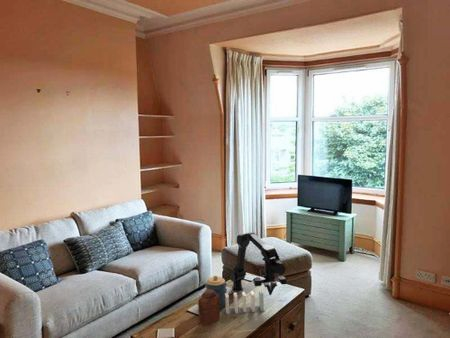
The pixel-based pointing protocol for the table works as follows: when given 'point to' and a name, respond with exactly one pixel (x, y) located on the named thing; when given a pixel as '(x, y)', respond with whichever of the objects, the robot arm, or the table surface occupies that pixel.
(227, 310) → the domino
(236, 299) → the domino
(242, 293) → the domino
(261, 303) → the domino
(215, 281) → the canister
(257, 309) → the mat
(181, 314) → the table surface
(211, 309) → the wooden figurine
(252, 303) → the domino
